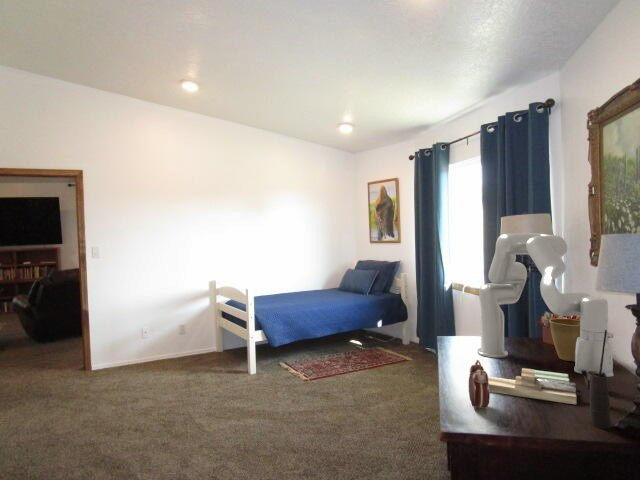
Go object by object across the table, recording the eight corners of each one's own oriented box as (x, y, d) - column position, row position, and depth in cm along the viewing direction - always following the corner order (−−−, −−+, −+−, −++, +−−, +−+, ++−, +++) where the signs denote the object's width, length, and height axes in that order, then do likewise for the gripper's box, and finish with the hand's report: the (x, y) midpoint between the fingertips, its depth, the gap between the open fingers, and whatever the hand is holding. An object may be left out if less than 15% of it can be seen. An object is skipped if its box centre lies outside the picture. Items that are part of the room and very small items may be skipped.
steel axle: (521, 386, 149) (521, 378, 148) (521, 383, 151) (521, 374, 151) (575, 394, 141) (575, 385, 141) (575, 390, 144) (575, 381, 144)
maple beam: (485, 382, 159) (485, 363, 159) (574, 395, 147) (574, 374, 146) (483, 390, 152) (483, 370, 151) (576, 404, 139) (576, 382, 139)
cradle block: (533, 382, 159) (533, 369, 159) (567, 386, 154) (567, 374, 154) (533, 388, 153) (533, 376, 153) (569, 393, 148) (569, 380, 148)
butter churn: (569, 418, 129) (570, 324, 128) (596, 415, 131) (597, 322, 130) (595, 432, 120) (596, 332, 119) (623, 428, 122) (625, 330, 122)
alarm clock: (490, 416, 132) (490, 366, 131) (473, 414, 132) (473, 366, 132) (483, 401, 142) (483, 356, 142) (467, 400, 143) (467, 355, 143)
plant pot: (595, 364, 178) (596, 326, 177) (556, 363, 180) (557, 325, 180) (580, 354, 192) (580, 318, 192) (544, 353, 195) (544, 317, 194)
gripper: (619, 335, 140) (619, 391, 141) (566, 330, 147) (566, 384, 147) (623, 340, 133) (623, 400, 134) (567, 335, 140) (567, 392, 140)
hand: (593, 391), depth 140 cm, fingers closed
